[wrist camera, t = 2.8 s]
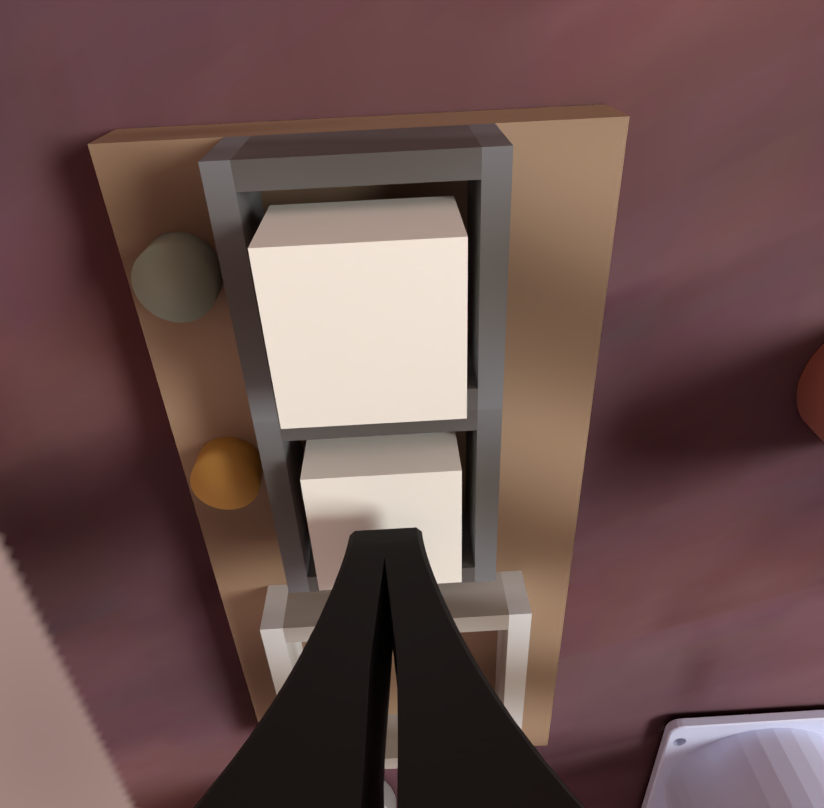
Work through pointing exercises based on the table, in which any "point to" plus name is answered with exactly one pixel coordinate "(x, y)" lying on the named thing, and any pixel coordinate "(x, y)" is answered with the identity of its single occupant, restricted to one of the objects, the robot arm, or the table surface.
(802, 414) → the cap
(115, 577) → the table surface
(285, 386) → the block
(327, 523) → the block
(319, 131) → the board
